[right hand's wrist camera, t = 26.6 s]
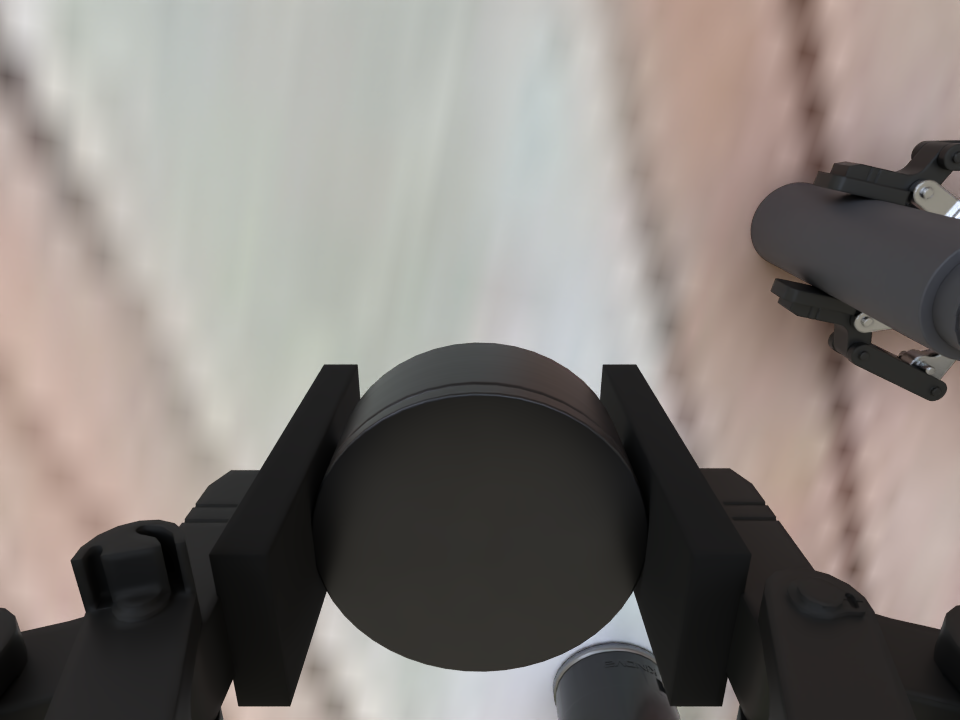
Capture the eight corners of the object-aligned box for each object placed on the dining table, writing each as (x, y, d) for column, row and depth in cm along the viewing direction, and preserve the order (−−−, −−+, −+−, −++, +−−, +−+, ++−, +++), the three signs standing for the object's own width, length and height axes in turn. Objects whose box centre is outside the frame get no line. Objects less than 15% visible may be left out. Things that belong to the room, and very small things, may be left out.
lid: (340, 327, 11) (309, 377, 9) (645, 355, 12) (682, 409, 10) (337, 574, 13) (310, 661, 11) (596, 594, 14) (616, 683, 12)
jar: (820, 166, 37) (1099, 216, 20) (844, 241, 38) (1120, 344, 22) (738, 207, 38) (942, 287, 21) (765, 279, 39) (974, 405, 23)
